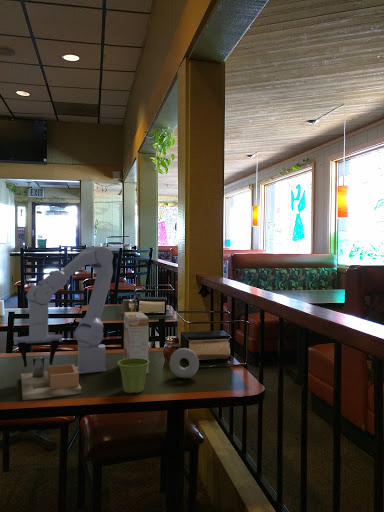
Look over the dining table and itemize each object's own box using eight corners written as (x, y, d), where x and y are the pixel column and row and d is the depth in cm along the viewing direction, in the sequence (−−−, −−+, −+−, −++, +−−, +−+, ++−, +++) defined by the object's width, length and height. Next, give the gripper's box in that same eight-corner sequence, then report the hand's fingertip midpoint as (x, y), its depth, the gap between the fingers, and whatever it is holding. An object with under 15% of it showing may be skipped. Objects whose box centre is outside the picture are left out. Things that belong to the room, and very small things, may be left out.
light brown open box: (73, 376, 133) (73, 363, 133) (78, 386, 123) (78, 372, 123) (47, 379, 130) (47, 366, 130) (50, 389, 120) (50, 375, 120)
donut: (199, 377, 139) (199, 347, 139) (198, 380, 136) (198, 349, 136) (170, 376, 140) (170, 346, 140) (168, 379, 137) (168, 348, 137)
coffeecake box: (123, 364, 155) (123, 312, 155) (141, 362, 157) (142, 311, 157) (128, 375, 141) (128, 318, 141) (148, 373, 143) (149, 317, 143)
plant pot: (135, 397, 119) (135, 367, 119) (111, 391, 124) (111, 362, 124) (155, 388, 127) (155, 360, 127) (131, 383, 132) (131, 356, 132)
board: (71, 373, 142) (71, 368, 142) (81, 393, 122) (81, 387, 122) (21, 378, 136) (21, 373, 136) (22, 400, 116) (22, 394, 116)
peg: (43, 374, 136) (44, 355, 136) (44, 377, 132) (44, 358, 132) (32, 375, 134) (32, 356, 134) (32, 378, 131) (32, 359, 131)
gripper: (61, 319, 140) (60, 360, 140) (14, 322, 134) (13, 364, 134) (63, 323, 133) (62, 365, 133) (14, 325, 128) (13, 369, 128)
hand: (38, 365), depth 133 cm, fingers open, 7 cm apart
